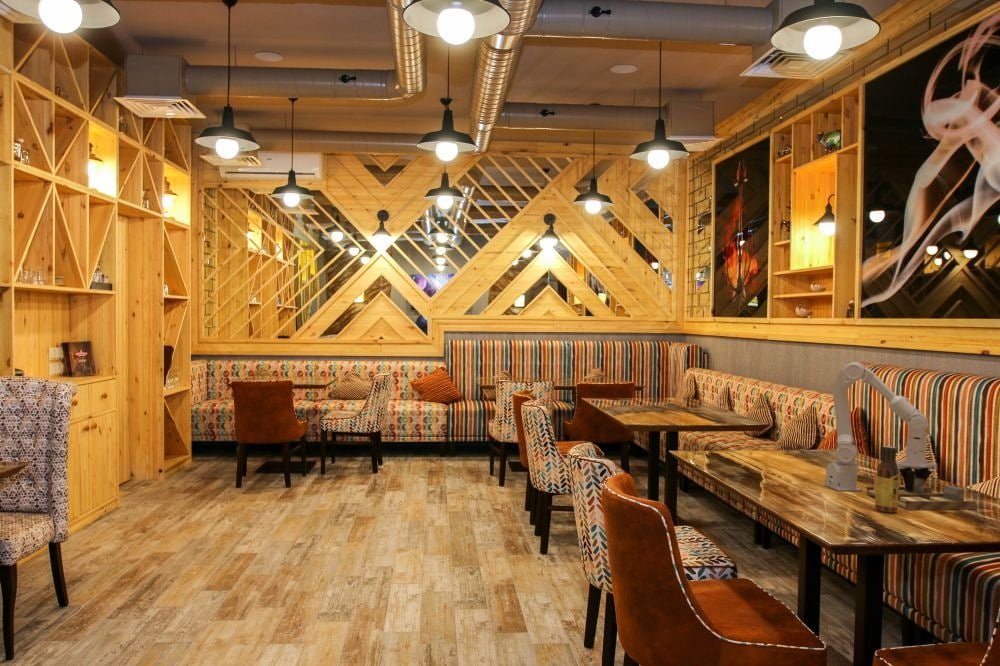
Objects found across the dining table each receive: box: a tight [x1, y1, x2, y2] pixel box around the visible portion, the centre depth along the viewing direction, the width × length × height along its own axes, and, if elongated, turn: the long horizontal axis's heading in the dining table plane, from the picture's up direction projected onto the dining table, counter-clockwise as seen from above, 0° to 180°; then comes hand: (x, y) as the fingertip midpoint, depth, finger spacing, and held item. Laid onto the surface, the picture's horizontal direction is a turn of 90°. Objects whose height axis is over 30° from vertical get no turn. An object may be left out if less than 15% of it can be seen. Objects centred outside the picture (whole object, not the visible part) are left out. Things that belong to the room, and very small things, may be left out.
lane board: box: [866, 484, 976, 511], centre depth 233 cm, size 24×19×6 cm
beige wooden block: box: [868, 477, 925, 496], centre depth 237 cm, size 16×7×6 cm, turn 100°
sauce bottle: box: [874, 445, 901, 514], centre depth 220 cm, size 7×6×20 cm
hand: (913, 490), depth 238 cm, fingers open, 3 cm apart
